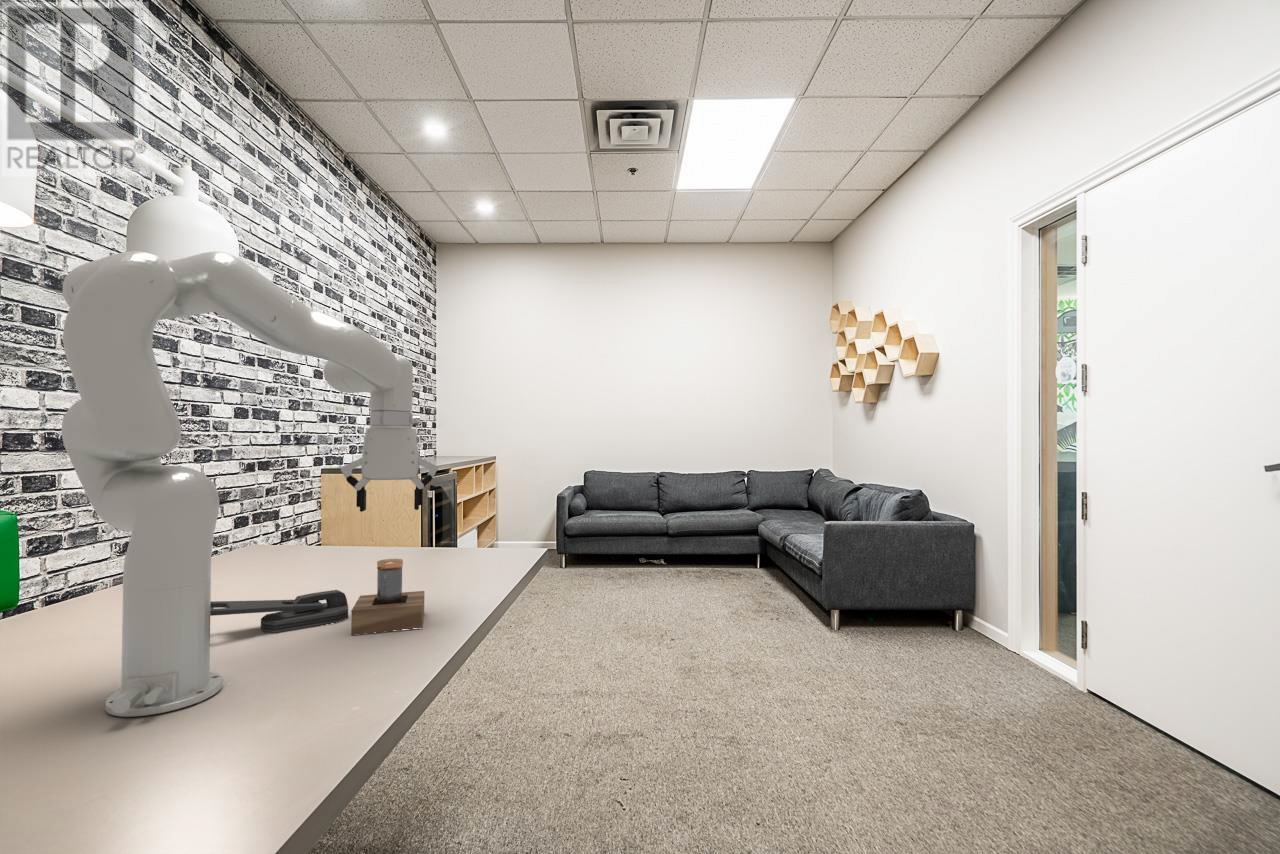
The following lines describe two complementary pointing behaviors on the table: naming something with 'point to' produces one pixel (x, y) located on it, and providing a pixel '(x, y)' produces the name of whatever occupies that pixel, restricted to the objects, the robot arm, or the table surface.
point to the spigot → (389, 581)
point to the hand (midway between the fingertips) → (390, 510)
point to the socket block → (387, 614)
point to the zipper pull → (290, 611)
